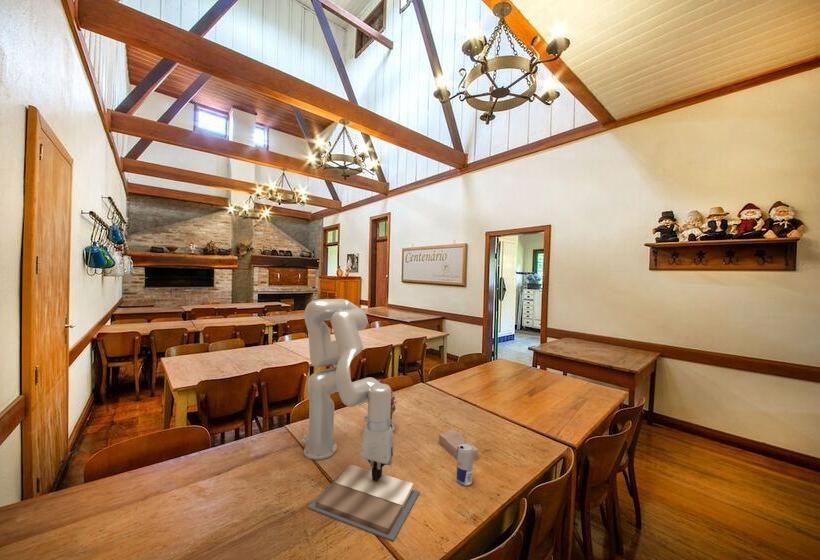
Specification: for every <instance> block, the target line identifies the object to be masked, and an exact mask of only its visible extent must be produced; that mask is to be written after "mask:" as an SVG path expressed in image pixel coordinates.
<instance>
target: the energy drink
mask: <svg viewBox="0 0 820 560" xmlns="http://www.w3.org/2000/svg"><path fill="white" fill-rule="evenodd" d="M472 445H473V444H472ZM472 445H470V444H468V443H460V444H459V445H458V448H457V459H456V477H455V478H456V482H457V483H458V484H459V485H460V486H463V487H468V486H471V484H472V483H473V471H474V470H473V467H474V466H473V465H474V464H473V463H474V461H473V447H472Z"/></svg>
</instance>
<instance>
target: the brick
mask: <svg viewBox="0 0 820 560" xmlns="http://www.w3.org/2000/svg"><path fill="white" fill-rule="evenodd" d="M438 441H439V442H438V443H439V446H441V447H442V448H443V449H445V451H446V452H448V453H449V454H450V456H453V457H454V458H455V459H456V460H457V448H458V445H459V444H460V443H468V444H470V445H472V447H473V462H475V461H478V459H479V453H478V452H479V450H478V448H477V447H476V446H475V445H473V444H472V443H470V442H469V441H467V440H466V438H465V437H463V436H462V435H461V434H460V433H459V432H458V431H457V430H453V429H452V430H448V431H444V432H443V433H439V435H438Z"/></svg>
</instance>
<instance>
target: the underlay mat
mask: <svg viewBox="0 0 820 560" xmlns="http://www.w3.org/2000/svg"><path fill="white" fill-rule="evenodd" d="M340 476H341V474H340V475H339V476H337V477H336V478H335V479H334V480H333V481H332V482H331V483H330V484H329V485H328V486H327V487H326V488H325V489H324V490H323V491H322V492H321V493H320V494H319V495H318V496H317V497H316V498H315V499H314V500H313V501H312V502H311V503H310V504H309V505H308V506H307V509H308V510H311V511H312V512H313V511H314V513H315V512H316V513H319V514H321V515H324V516H326V517H329V518H331V519H334V520H336V521H338V522H341V523H344V524H347V525H349V526H351V527H354V528H357V529H360V530H362V531H365V532H367V533H369V534H372V535H374V536H377V537H379V538H382V539H385V540H388V541H390V542H392V541H395V540H396V538H397V537H398V536H397V535H398V534H399V533H400V530H401V528H402V527H403V525H404V523H405V521H406V520H407V518H408V515H409V514H410V511H411V510H412V509H413V507H414V505H415V503H416V501H417V499H418V497H419V496H420V493H421V492H420V491H419V490H415V489H414V488H413V489H412V491H411V493H410V495H409V497H408V499H407V501H406V503H405V505H404V507H403V509H402V511H401V513H400V515H399V517H398V518H397V520H396V522H395V524H394V525H393V527H392V529H391V531H390V532H389V534H386V533H383V532H381V531H378V530H375V529H373V528H370V527H368V526H365V525H362V524H360V523H357V522H354V521H352V520H349V519H347V518H344V517H341V516H339V515H336V514H334V513H331V512H328V511H326V510H323V509H320V508H318V507H316V501H317V500H318V499H319V498H320V497H321V496H322V495H323V494H324V493H325V492H326V491H327V490H328V489H329V488H330V487H331V486H332V485H333V484H334V483H335V481H336V480H337V479H338V478H339V477H340ZM394 539H395V540H394Z"/></svg>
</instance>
